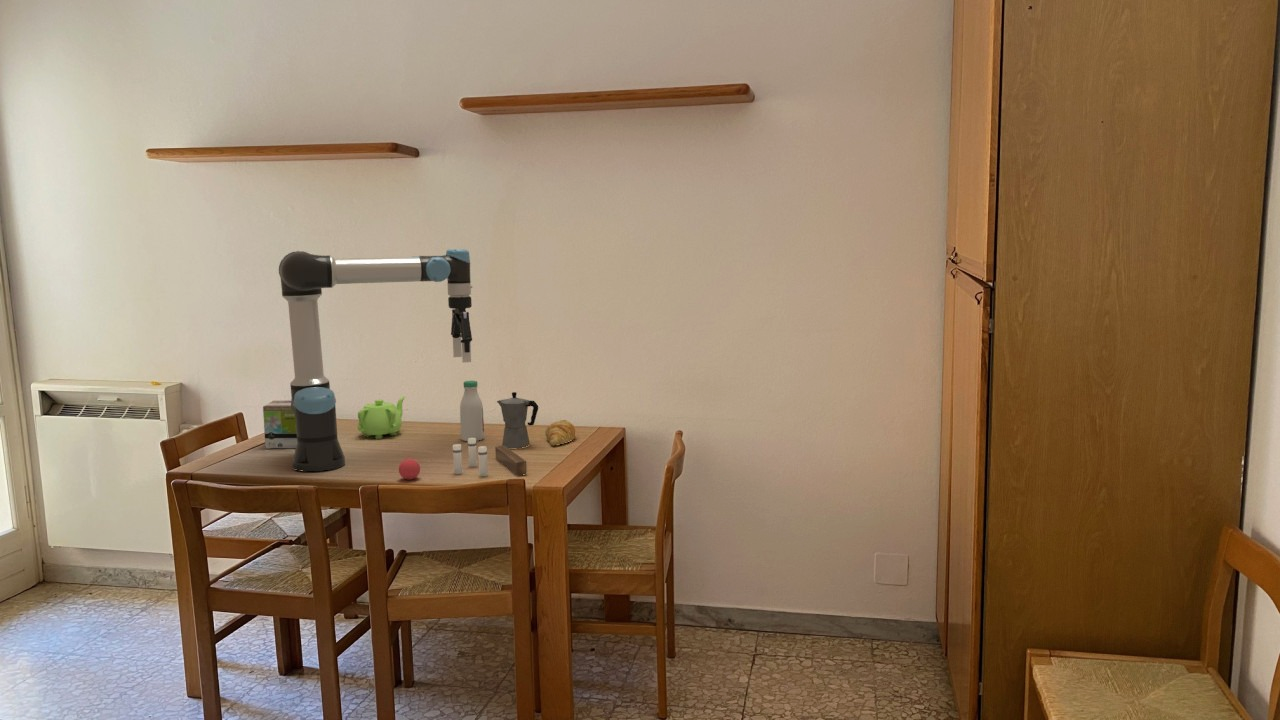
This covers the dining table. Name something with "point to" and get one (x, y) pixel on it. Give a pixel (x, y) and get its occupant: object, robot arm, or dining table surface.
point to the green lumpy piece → (380, 418)
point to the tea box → (279, 425)
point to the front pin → (457, 458)
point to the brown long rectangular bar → (511, 460)
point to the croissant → (560, 432)
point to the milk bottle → (471, 413)
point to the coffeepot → (516, 421)
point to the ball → (409, 469)
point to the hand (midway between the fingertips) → (462, 359)
